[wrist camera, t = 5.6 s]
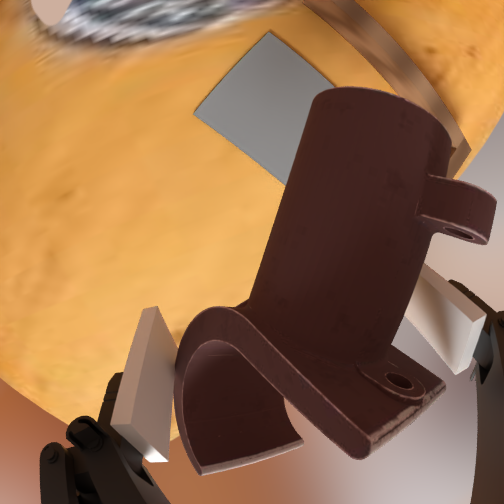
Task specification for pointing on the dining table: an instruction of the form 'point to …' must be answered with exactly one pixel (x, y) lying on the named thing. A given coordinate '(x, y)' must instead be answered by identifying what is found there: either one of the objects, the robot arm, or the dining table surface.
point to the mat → (265, 104)
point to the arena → (391, 66)
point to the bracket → (330, 291)
